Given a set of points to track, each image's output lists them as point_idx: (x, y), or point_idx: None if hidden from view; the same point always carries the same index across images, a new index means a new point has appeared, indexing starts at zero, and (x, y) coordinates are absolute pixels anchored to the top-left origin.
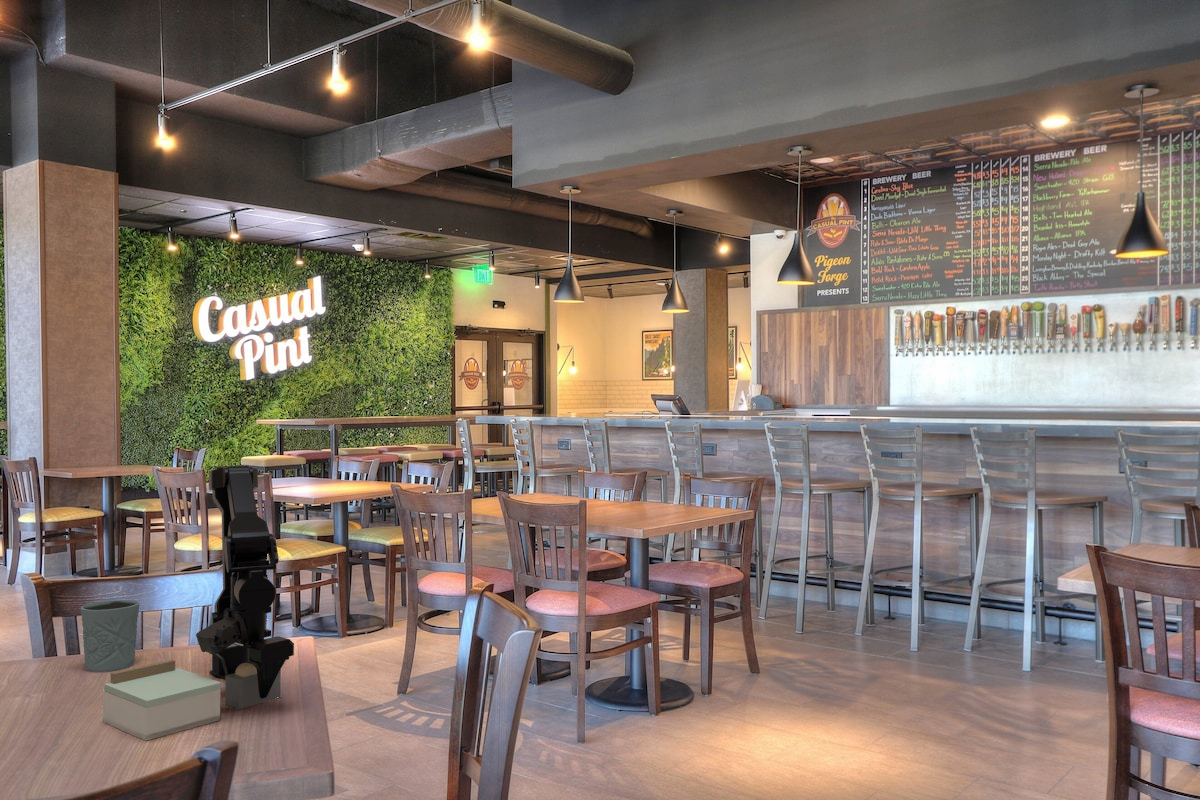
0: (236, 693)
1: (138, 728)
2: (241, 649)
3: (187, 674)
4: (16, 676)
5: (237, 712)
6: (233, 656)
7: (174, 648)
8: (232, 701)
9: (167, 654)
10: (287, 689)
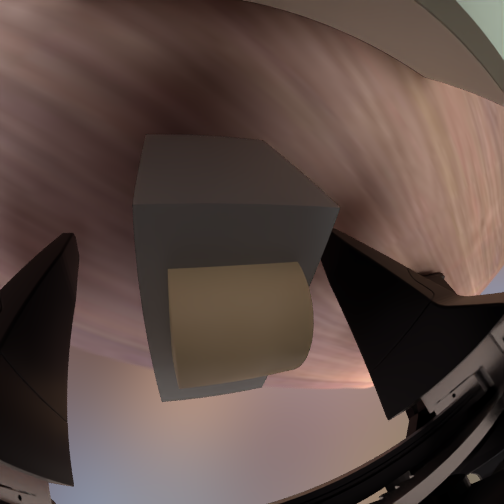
0: (165, 158)
1: None
2: (396, 392)
3: (488, 1)
4: None
5: (103, 105)
6: (408, 346)
7: (486, 285)
8: (204, 142)
9: (491, 271)
10: None
